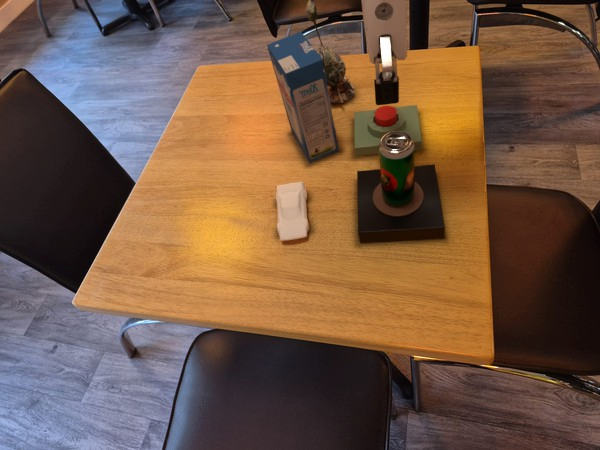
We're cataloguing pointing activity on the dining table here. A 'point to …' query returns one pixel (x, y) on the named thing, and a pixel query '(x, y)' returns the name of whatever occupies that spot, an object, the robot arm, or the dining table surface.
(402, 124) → the button box
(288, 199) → the toy car
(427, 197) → the stand
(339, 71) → the plant with pod
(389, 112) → the red button
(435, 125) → the dining table surface
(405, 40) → the robot arm
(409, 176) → the soda can
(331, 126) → the milk carton
